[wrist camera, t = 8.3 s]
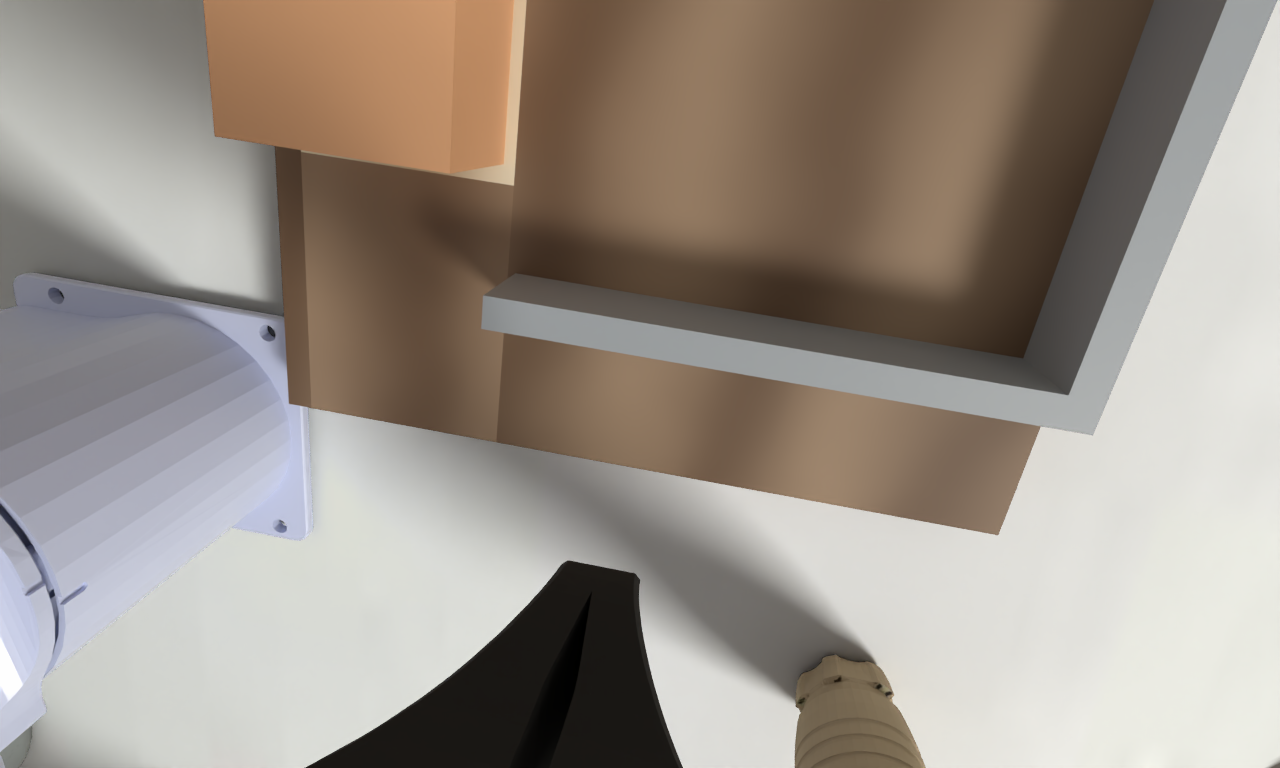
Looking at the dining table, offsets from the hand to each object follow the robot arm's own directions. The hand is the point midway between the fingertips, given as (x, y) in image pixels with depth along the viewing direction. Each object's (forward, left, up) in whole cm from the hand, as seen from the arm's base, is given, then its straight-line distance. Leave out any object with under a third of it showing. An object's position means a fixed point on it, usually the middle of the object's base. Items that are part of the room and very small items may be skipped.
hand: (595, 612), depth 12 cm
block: (-7, +9, -7) cm, 14 cm away
